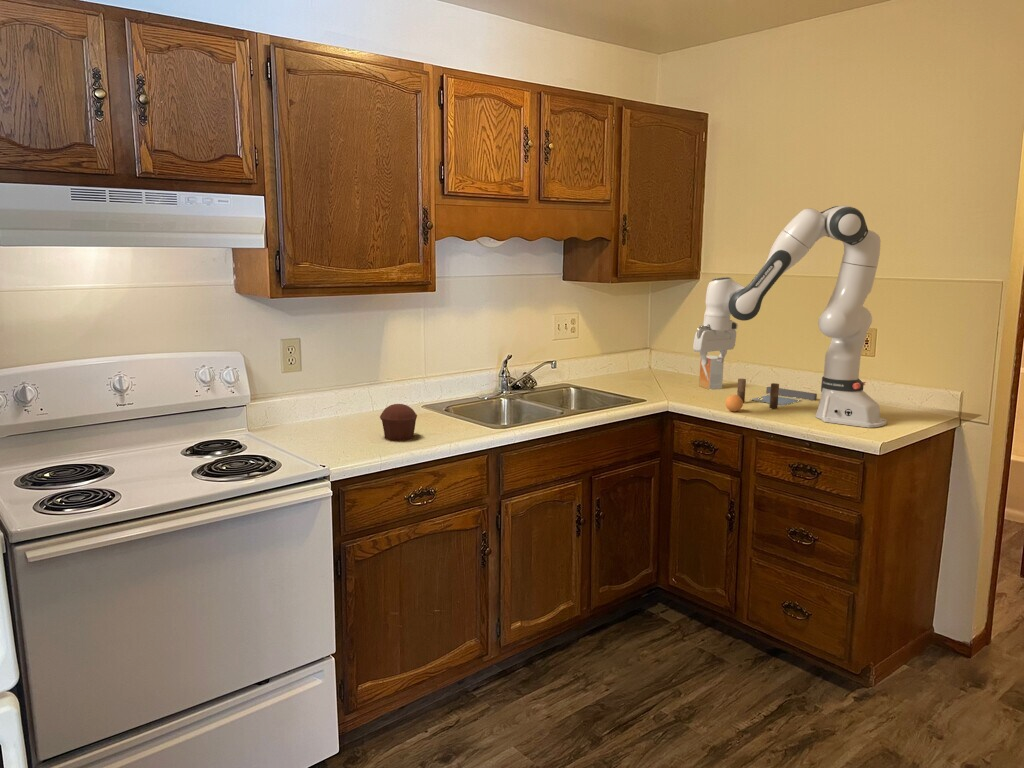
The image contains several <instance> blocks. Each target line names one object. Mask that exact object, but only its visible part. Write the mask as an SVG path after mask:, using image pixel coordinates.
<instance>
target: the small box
mask: <svg viewBox="0 0 1024 768" xmlns="http://www.w3.org/2000/svg"><path fill="white" fill-rule="evenodd" d="M706 357H707V360H708V364H707V365H703V364H701V361H702V359H701V358H700V365H699V366H700V367H699V380H698V381H699V383H698V384H699V385H698V387H701V388H704V389H706V388H707V390H709V389H712V390H722V389H723V377H724V362H723V363H719V362H717V360H718V357H719V356H717V355H706Z"/></svg>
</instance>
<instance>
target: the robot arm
mask: <svg viewBox="0 0 1024 768" xmlns="http://www.w3.org/2000/svg"><path fill="white" fill-rule="evenodd" d="M824 237H827V238H831V239H833V240H835V241H840V242H842V244H843V255H842V259H841V263H840V268H839V272H838V275H837V279H836V283H835V285H834V288H833V291H832V294H831V295H830V298H829V300H828V302H827V305H826V307H825V309H824V310H823V311H822V313H821V314H820V316H819V318H818V321H817V322H818V324H817V325H818V328H819V331H820V332H821V333H822V334H823V335H824V336H825V337H828V338H831V341H830V343H829V347H828V349H827V350H826V352H825V356H824V369H823V376H822V377H821V385H820V387H821V388H820V391H821V394H820V395H821V396H820V400H819V404H818V408H817V410H816V413H815V418H817V419H819V420H821V421H822V422H824V423H829V424H839V425H847V426H853V427H862V428H870V429H871V428H872V429H873V428H879V427H883V426H886V425H887V424H888V420H887V419H886V418H882V417H881V409H880V408H881V407H880V405H879V403H878V402H877V401H876V400H874V399H873V398H872V397H871V396H870V395H869V394H867V392H866V391H864V386H866V383H867V382H866V381H862V380H861V379H860V376H859V375H860V366H861V357H862V351H863V349H864V346H865V341H866V338H867V336H868V335H867V334H868V331H869V328H871V325H872V322H873V316H872V313H871V311H870V310H869V309H868V308H866V307H864V306H863V305H864V304H865V302H866V299H867V298H868V295H869V294H870V293H871V292H872V289H873V285H874V281H875V279H876V278H875V277H876V275H877V274H876V273H877V269H878V266H879V260H880V254H881V238H880V235H879V234H878V233H876V232H875V231H873V230H870V229H868V226H867V223H866V220H865V217H864V215H863V212H861V211H860V210H859V209H857V208H856V207H853V206H849V205H835V206H831V207H830V208H828V209H825V210H823V211H821V212H820V211H819V210H817V209H814V208H804V209H802V210H801V211H799V212H798V214H796V215H795V216H794V217H793V218H792V219H791V220H790V221H789V222H788V223H787V224H786V226H784V228H783V229H782V230H781V231H780V233H779V234H778V236H777V237H776V238H775V240H774V242H773V244H772V246H771V247H770V250H769V253H768V256H767V259H766V261H765V263H764V265H763V266H762V267H761V269H760V270H759V271H758V272H757V274H756V275H755V276H754V277H753V279H752V280H751V281H750V283H749V284H747V285H746V286H743V285H741V284H739V283H738V282H737V281H735V280H733V278H732V277H730V276H729V277H727V276H726V277H724V276H723V277H718V278H714V279H711V280H710V281H709V283H708V284H707V288H706V293H705V310H704V314H703V322H702V323H703V324H701V325H699V327H698V328H697V329H696V330H697V331H696V332H695V335H694V339H693V345H692V349H693V352H696V353H699V357H700V362H701V364H703V365H707V364H708V360H707V357H706V356H708V353H709V352H710V353H711V352H719V356H717V357H718V360H717V362H719V363H723V364H724V361H725V358H726V356H727V354H728V350H730V351H731V350H734V348H735V346H736V343H737V331H736V330H738V326H739V325H738V323H737V322H736V321H734V320H732V319H731V317H733V318H734V319H736V320H739V321H742V322H743V321H750V320H752V319H754V318H755V317H756V316H757V315H758V313H759V312H760V311H761V307H762V303H763V299H764V298H765V297H766V295H767V294H768V292H769V291H770V289H772V287H773V285H775V283H776V282H777V281H778V280H779V279H780V278H781V276H783V274H785V273H786V272H787V271H788V270H790V269H791V268H792V267H794V266H795V265H797V263H799V262H800V261H801V260H802V259H803V258H804V257H805V256H806V255H807V254H808V252H809V251H810V250H811V249H812V248H813V246H814V245H815V244H816V242H818V241H820V239H822V238H824ZM701 359H702V361H701Z"/></svg>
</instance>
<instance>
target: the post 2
mask: <svg viewBox="0 0 1024 768" xmlns="http://www.w3.org/2000/svg"><path fill="white" fill-rule="evenodd" d="M770 387H771V392H770V394H769V395H770V403H769V407H768V408H769V409H770V408H772V409H771V410H777V409H778V406H779V405H778V397H779V395H778V394H779V388H780V384H779V383H777V382H776V383H775V382H774V383H770Z"/></svg>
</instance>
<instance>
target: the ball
mask: <svg viewBox="0 0 1024 768" xmlns="http://www.w3.org/2000/svg"><path fill="white" fill-rule="evenodd" d="M724 403H725V407H726V408H727V410H728V411H730V412H733V413H735V412H738V411H740V410H741V409H742V408H743V405H744V403H743V401H742V399H741V397H739V396H738V395H737V394H731V395H729V396H727V398H726V399H725V402H724Z"/></svg>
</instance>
